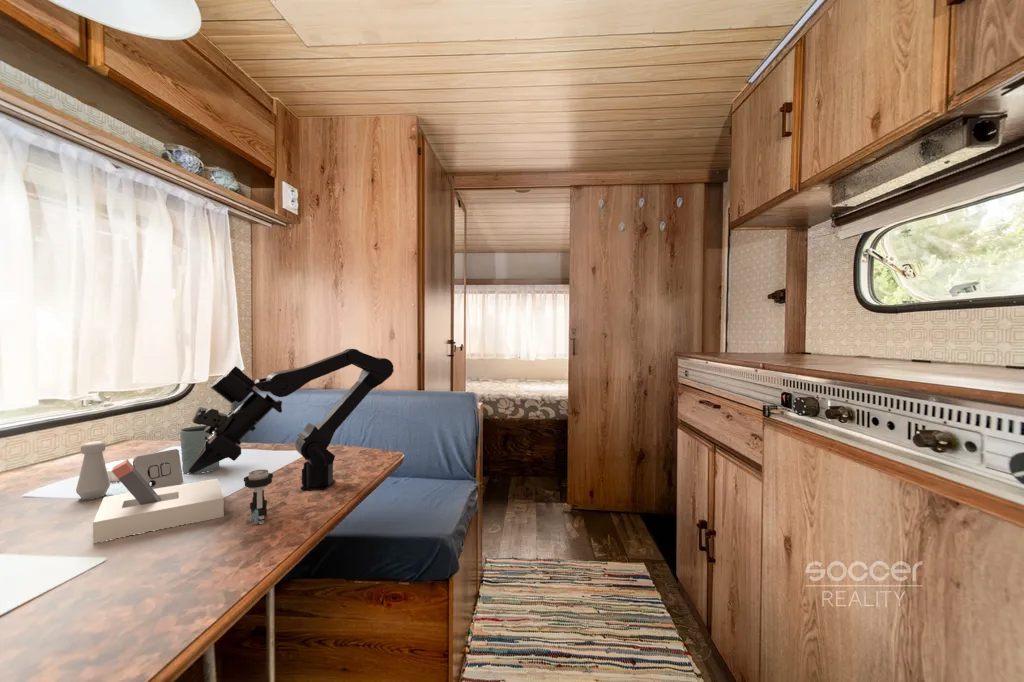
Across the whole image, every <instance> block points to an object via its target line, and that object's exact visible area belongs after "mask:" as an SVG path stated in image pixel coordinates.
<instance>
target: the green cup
mask: <svg viewBox="0 0 1024 682" xmlns="http://www.w3.org/2000/svg"><path fill="white" fill-rule="evenodd" d="M207 427H208V426H207V425H198V426H197V425H196V426H190V427H185V428H184V427H183V428H181V429H180V430H179V438H180V439H179V441H180V448H181V449H180V451H181V453H180V454H181V462H182V464H181V469H182V473H183V472H184V473H183V474H185V473H189V474H188V475H196V474H195V473H199V474H203V473H202V472H206V473H208V472H207V471H210V472H212V470H213V471H216V470H218V469H219V467H220V461H218V462H216V463H214V464H212V465H210V466H208V467H206V468H203V469H201V470H199V471H197V472H195V473H193V474H192V473H190V472H189V468H190V467H191V465H192V464H193V462H194V461H195V459H196V458H197V456H198V455H199V454H200V452H201V450H202V449H203V447H204V436H206V437H207V438H208V437H209V436H210V435H211V434H209V433H206V432H205V431H204V430H205V429H206V428H207ZM217 468H218V469H217ZM215 469H216V470H215Z"/></svg>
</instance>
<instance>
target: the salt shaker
mask: <svg viewBox="0 0 1024 682" xmlns="http://www.w3.org/2000/svg"><path fill="white" fill-rule="evenodd" d="M106 447H107V446H106V442H104V441H98V440H97V441H90V442H86V443H83V444H82V445H81V446H80V449H79V450H80V454H82V455H83V458H82V464H81V468H80V473H79V475H78V476H79V478H78V481H77V485H76V489H75V491H76V492H75V493H76V494H77V495H78V497H80V499H81V500H82V501H87V500H86V499H92V500H95V499H94V498H96V499H99V498H98V497H100V498H103V497H105V495H106V493H107V492H108V490H109V488H110V485H111V481H109V477H108V473H107V469H106V462H105V458H104V451H105V450H106ZM102 496H103V497H102Z"/></svg>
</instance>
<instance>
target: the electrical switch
mask: <svg viewBox="0 0 1024 682" xmlns="http://www.w3.org/2000/svg"><path fill="white" fill-rule="evenodd" d="M132 459H133V466H134V468H135V469H136V470H137V471H138V472H139V473H140V475H141V476H142V477H143V478H144V479H145V481H146V482H147V483H148V484H149V485H150V486H151V488H152V489H157V488H163V487H169V486H175V485H181V484H183V483H184V478H183V469H182V464H181V462H182V461H181V457H180V450H179V449H177V448H174V449H173V448H172V449H168V450H163V451H158V452H152V453H148V454H141V455H136V456H135V457H134V458H132ZM150 483H151V484H150Z"/></svg>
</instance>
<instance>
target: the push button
mask: <svg viewBox="0 0 1024 682" xmlns="http://www.w3.org/2000/svg"><path fill="white" fill-rule="evenodd" d="M273 478H274V474H273V473H271V472H269V470H268V469H256V470H251V471H249V472H248V475H247V476H245V477H244V478H243V482H244V487H246V488H248V489H250V490H253V492H252V493H253V494H252V502H250V503H249V509H250V512H249V522H252V521H253V522H254V524H255V525H258V524H260V525H262V524H265V522H266V518H267V519H268V509H267V506H268V501H267V499H265V490H264V488H266V487H268V486H269V485H270V484H272V482H273Z"/></svg>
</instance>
